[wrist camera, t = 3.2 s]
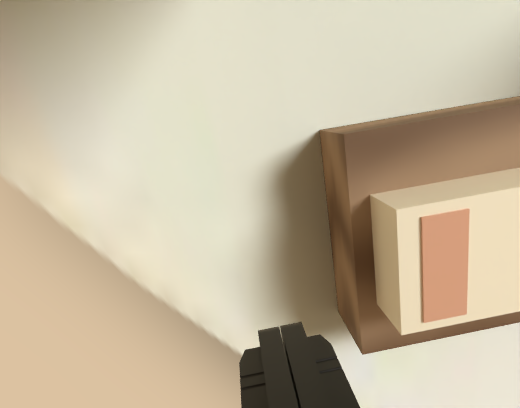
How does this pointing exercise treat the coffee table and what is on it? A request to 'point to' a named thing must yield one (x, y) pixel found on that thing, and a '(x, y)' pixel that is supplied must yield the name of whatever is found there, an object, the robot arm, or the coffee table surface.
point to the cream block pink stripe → (448, 251)
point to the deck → (399, 177)
